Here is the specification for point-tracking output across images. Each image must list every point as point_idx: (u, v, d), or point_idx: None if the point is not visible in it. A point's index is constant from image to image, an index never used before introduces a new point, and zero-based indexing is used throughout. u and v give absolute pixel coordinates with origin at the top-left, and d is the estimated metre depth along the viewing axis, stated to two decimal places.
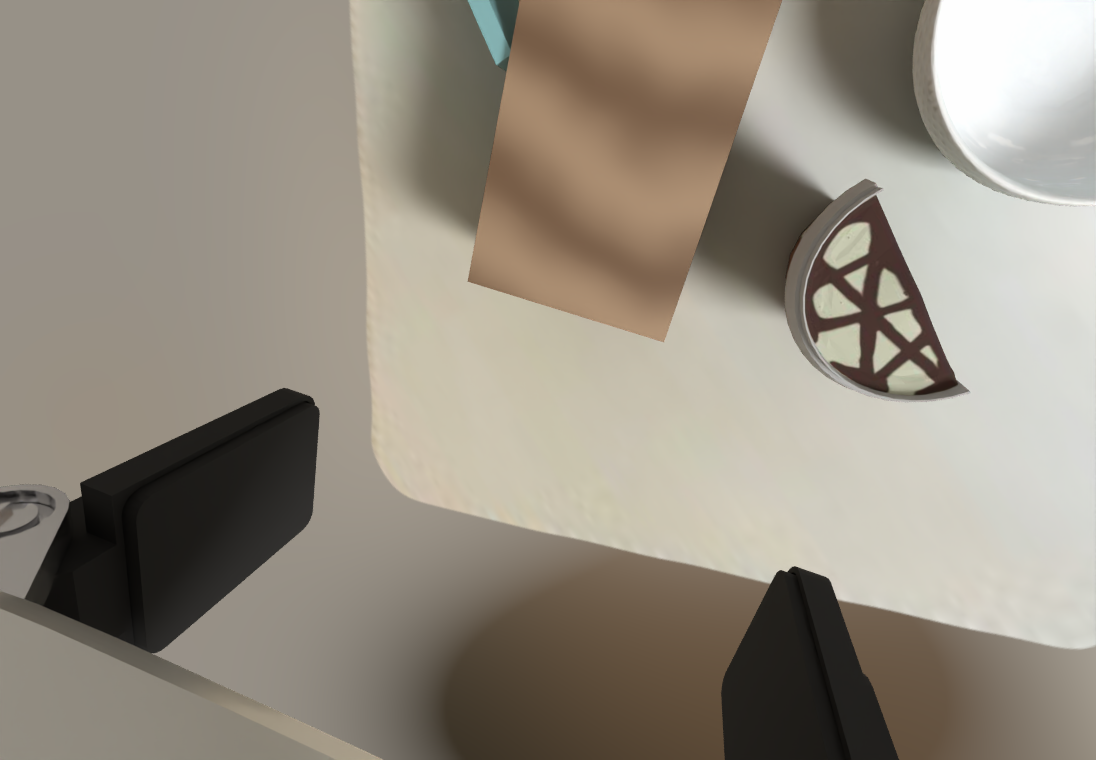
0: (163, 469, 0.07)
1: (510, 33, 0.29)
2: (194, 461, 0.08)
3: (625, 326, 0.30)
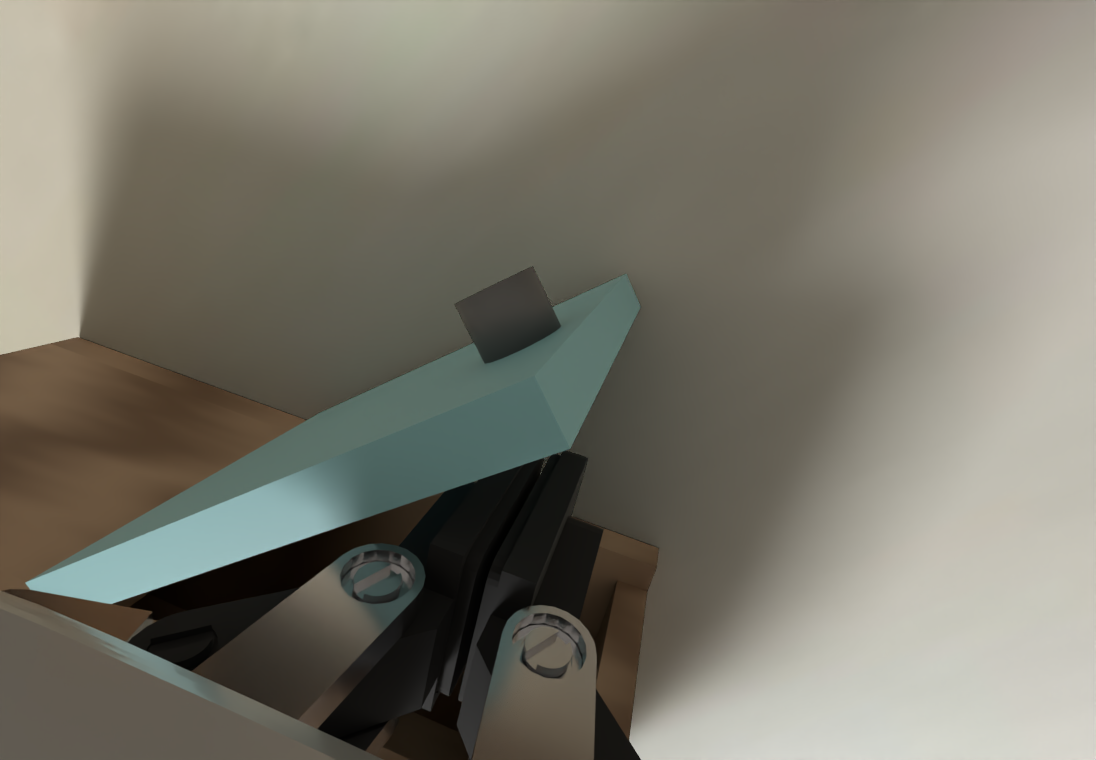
0: (483, 526, 0.08)
1: None
2: (496, 515, 0.08)
3: None
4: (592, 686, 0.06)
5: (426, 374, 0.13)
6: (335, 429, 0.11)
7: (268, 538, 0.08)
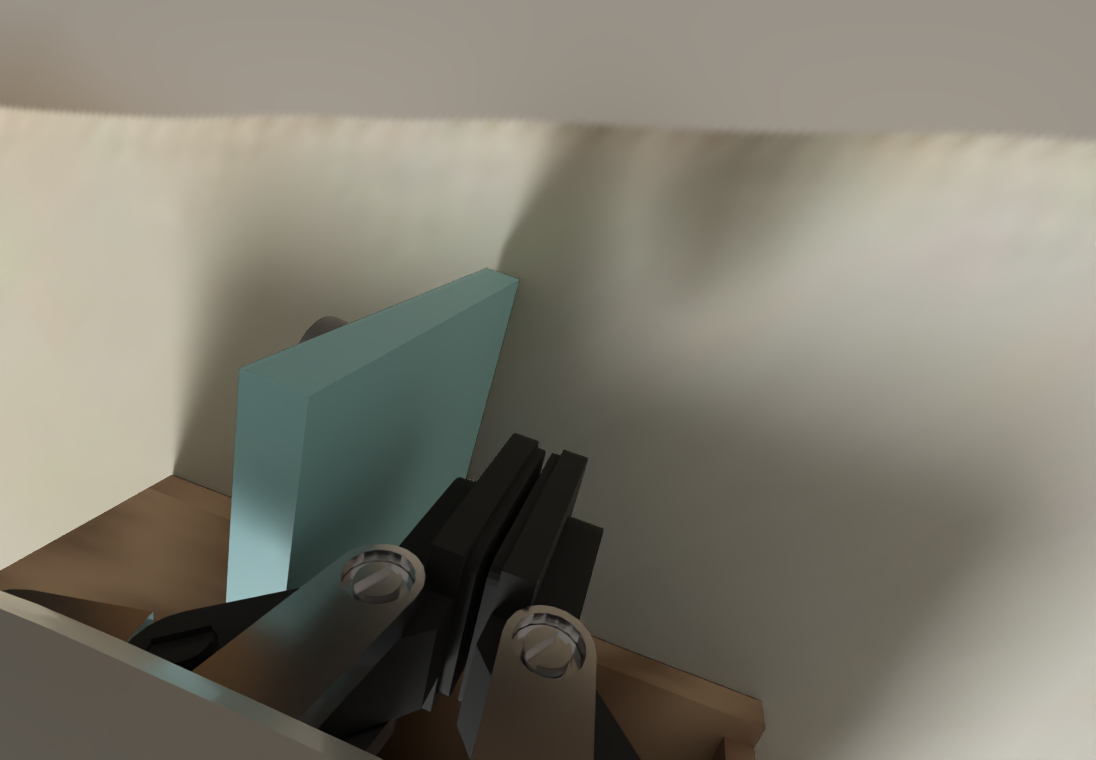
0: (483, 525, 0.08)
1: None
2: (496, 515, 0.08)
3: None
4: (592, 686, 0.06)
5: None
6: None
7: None
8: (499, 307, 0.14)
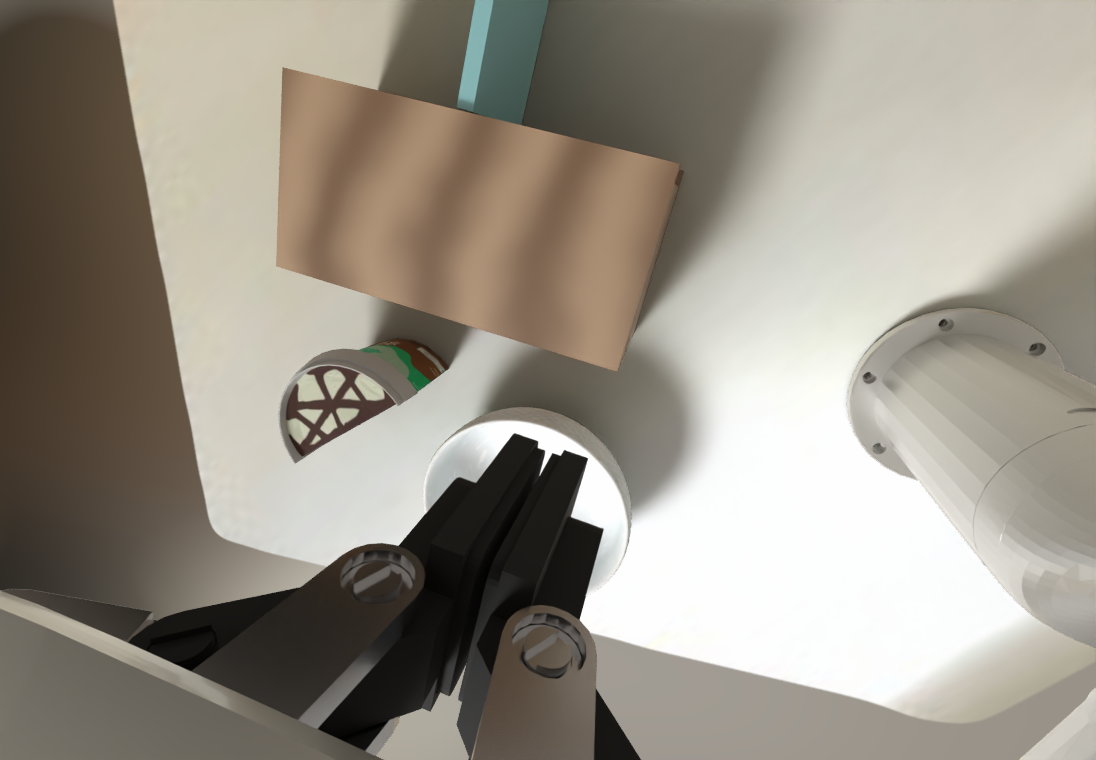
0: (482, 525, 0.08)
1: (490, 87, 0.31)
2: (495, 515, 0.08)
3: (280, 232, 0.35)
4: (592, 686, 0.06)
5: None
6: None
7: None
8: None
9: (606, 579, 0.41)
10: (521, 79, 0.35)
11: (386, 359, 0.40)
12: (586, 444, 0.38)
